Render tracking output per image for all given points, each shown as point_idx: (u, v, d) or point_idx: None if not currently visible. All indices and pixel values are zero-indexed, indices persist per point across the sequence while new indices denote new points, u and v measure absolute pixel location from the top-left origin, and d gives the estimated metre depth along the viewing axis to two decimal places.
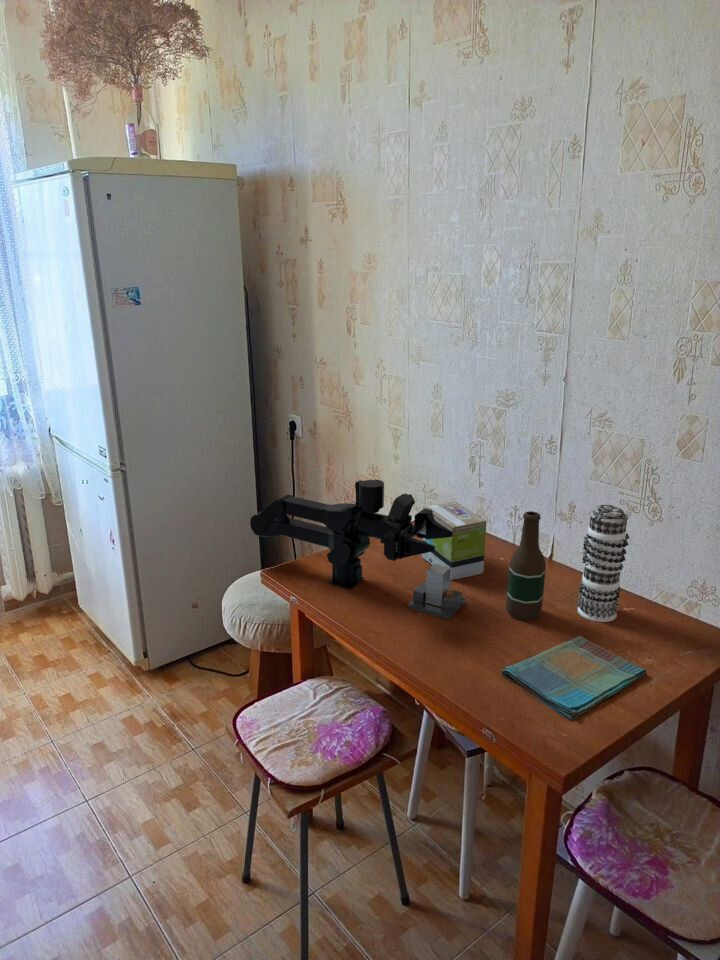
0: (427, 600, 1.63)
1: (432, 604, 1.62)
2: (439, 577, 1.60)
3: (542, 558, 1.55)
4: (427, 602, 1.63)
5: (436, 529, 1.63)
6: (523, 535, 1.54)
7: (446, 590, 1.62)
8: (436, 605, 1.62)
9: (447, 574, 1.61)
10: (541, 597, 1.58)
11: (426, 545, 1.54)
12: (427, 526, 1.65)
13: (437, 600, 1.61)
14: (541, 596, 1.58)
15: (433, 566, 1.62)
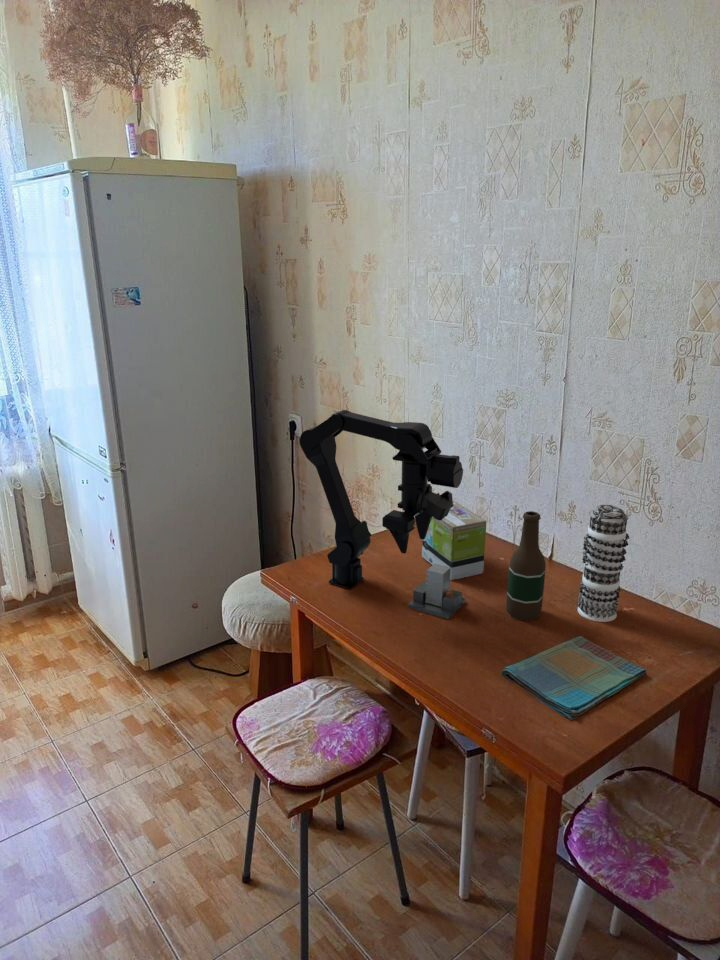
0: (427, 600, 1.63)
1: (432, 604, 1.62)
2: (439, 577, 1.60)
3: (542, 558, 1.55)
4: (427, 602, 1.63)
5: (424, 522, 1.66)
6: (523, 535, 1.54)
7: (446, 590, 1.62)
8: (436, 605, 1.62)
9: (447, 574, 1.61)
10: (541, 597, 1.58)
11: (404, 547, 1.58)
12: (425, 512, 1.65)
13: (437, 600, 1.61)
14: (541, 596, 1.58)
15: (433, 566, 1.62)
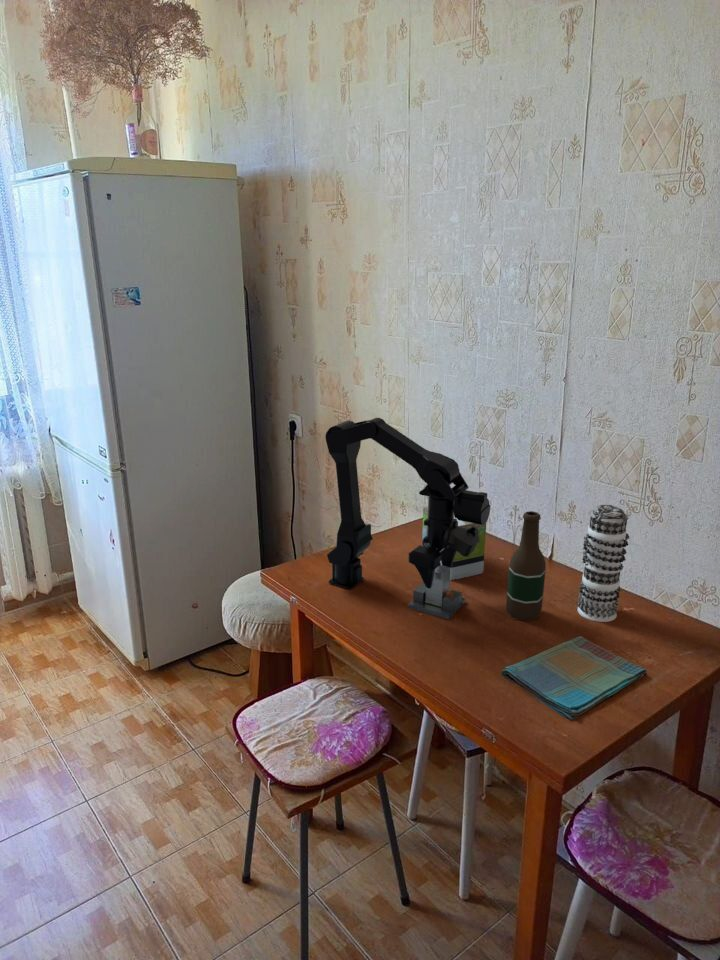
0: (427, 600, 1.63)
1: (432, 604, 1.62)
2: (439, 577, 1.60)
3: (542, 558, 1.55)
4: (427, 602, 1.63)
5: (448, 555, 1.65)
6: (523, 535, 1.54)
7: (446, 590, 1.62)
8: (436, 605, 1.62)
9: (447, 574, 1.61)
10: (541, 597, 1.58)
11: (430, 583, 1.57)
12: (450, 546, 1.64)
13: (437, 600, 1.61)
14: (541, 596, 1.58)
15: None
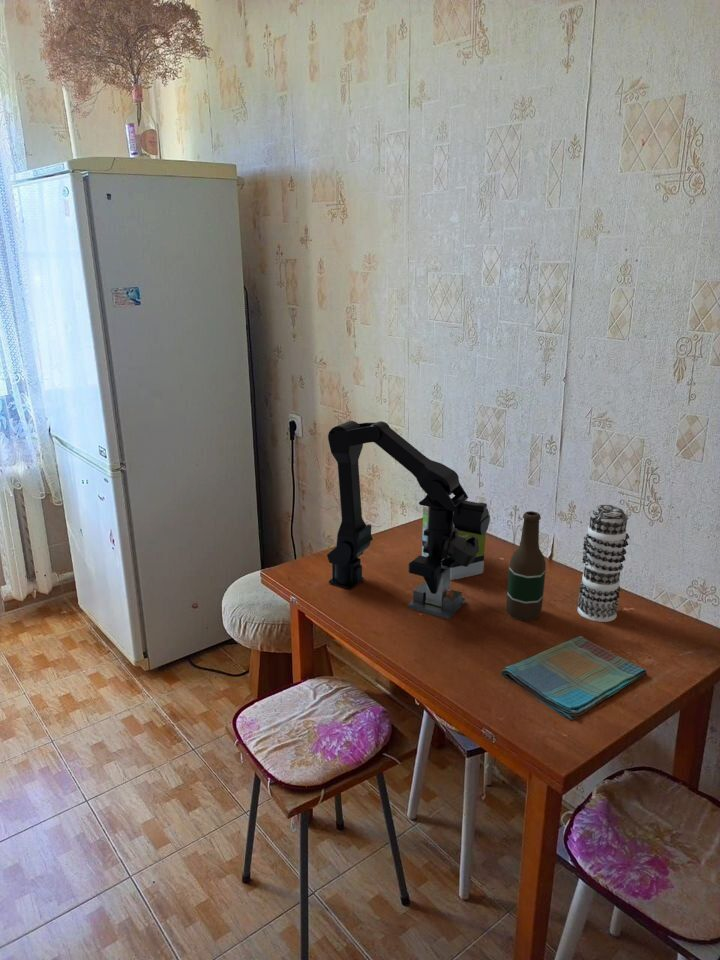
0: (427, 600, 1.63)
1: (432, 604, 1.62)
2: (439, 577, 1.60)
3: (542, 558, 1.55)
4: (427, 602, 1.63)
5: None
6: (523, 535, 1.54)
7: (446, 590, 1.62)
8: (436, 605, 1.62)
9: (447, 574, 1.61)
10: (541, 597, 1.58)
11: (435, 588, 1.60)
12: (445, 559, 1.63)
13: (437, 600, 1.61)
14: (541, 596, 1.58)
15: None
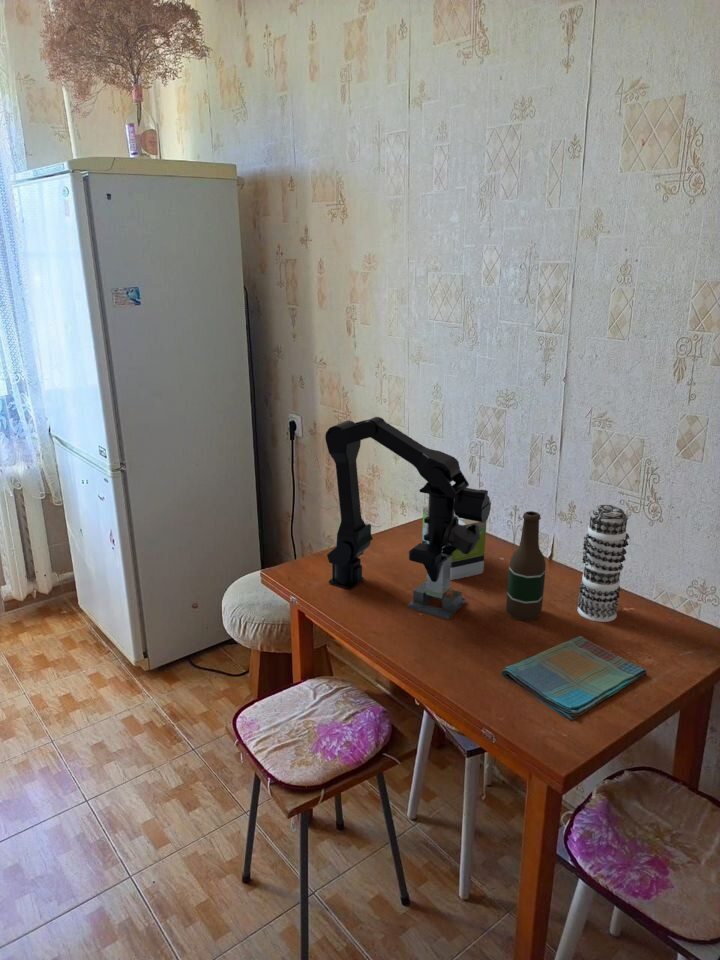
0: (427, 588, 1.62)
1: (432, 592, 1.61)
2: None
3: (542, 558, 1.55)
4: (427, 590, 1.62)
5: None
6: (523, 535, 1.54)
7: (447, 578, 1.61)
8: (436, 593, 1.61)
9: (447, 562, 1.60)
10: (541, 597, 1.58)
11: (435, 576, 1.59)
12: (446, 547, 1.62)
13: (438, 588, 1.61)
14: (541, 596, 1.58)
15: None
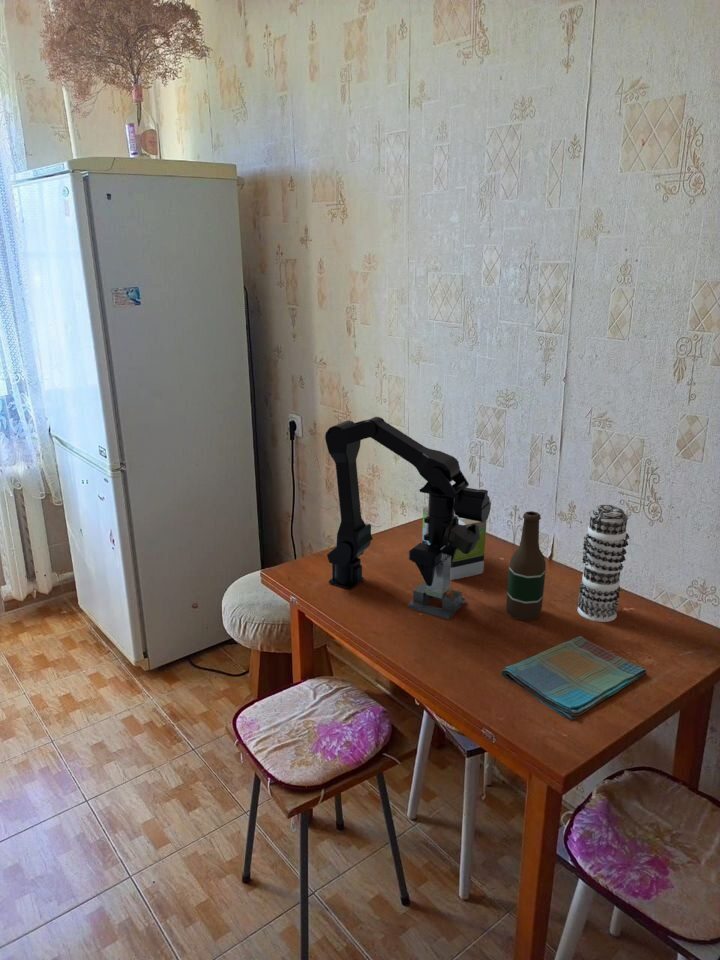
0: (427, 588, 1.62)
1: (432, 592, 1.61)
2: (439, 565, 1.59)
3: (542, 558, 1.55)
4: (427, 590, 1.62)
5: (449, 553, 1.64)
6: (523, 535, 1.54)
7: (447, 578, 1.61)
8: (436, 593, 1.61)
9: (447, 562, 1.60)
10: (541, 597, 1.58)
11: (430, 580, 1.57)
12: (450, 543, 1.64)
13: (438, 588, 1.61)
14: (541, 596, 1.58)
15: None
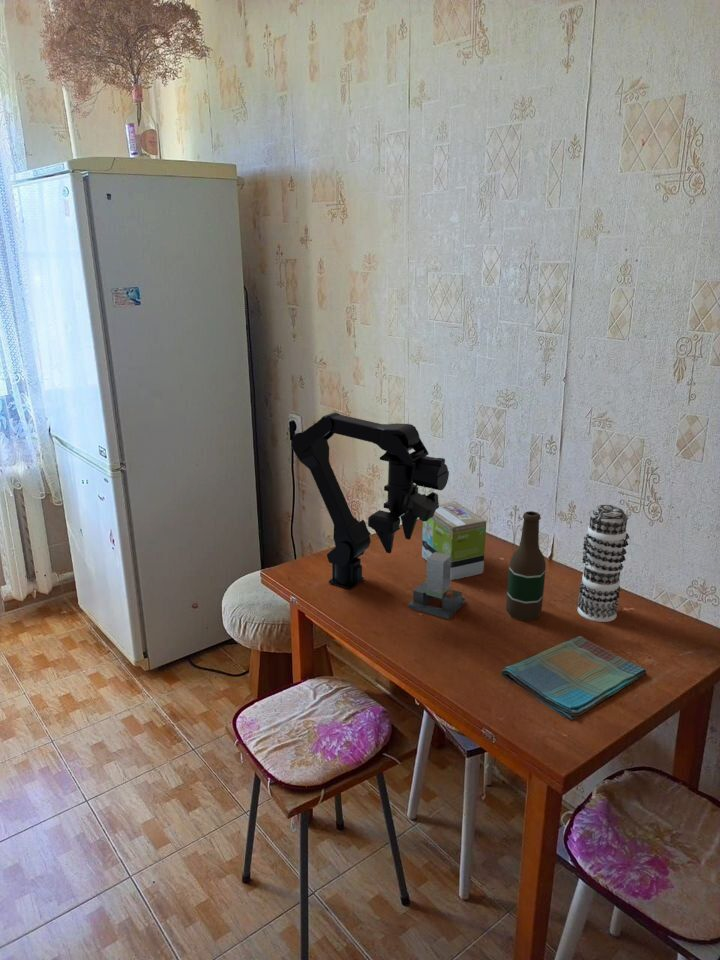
0: (427, 588, 1.62)
1: (432, 592, 1.61)
2: (439, 565, 1.59)
3: (542, 558, 1.55)
4: (427, 590, 1.62)
5: (410, 522, 1.67)
6: (523, 535, 1.54)
7: (447, 578, 1.61)
8: (436, 593, 1.61)
9: (447, 562, 1.60)
10: (541, 597, 1.58)
11: (389, 547, 1.59)
12: (411, 512, 1.66)
13: (438, 588, 1.61)
14: (541, 596, 1.58)
15: (433, 554, 1.62)
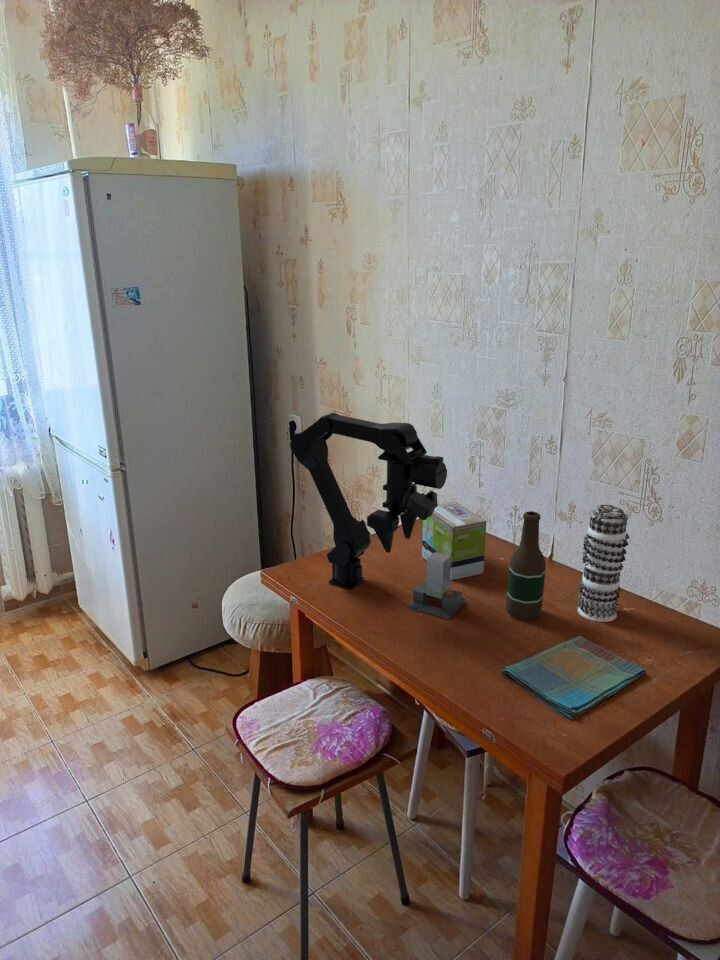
0: (427, 588, 1.62)
1: (432, 592, 1.61)
2: (439, 565, 1.59)
3: (542, 558, 1.55)
4: (427, 590, 1.62)
5: (409, 521, 1.67)
6: (523, 535, 1.54)
7: (447, 578, 1.61)
8: (436, 593, 1.61)
9: (447, 562, 1.60)
10: (541, 597, 1.58)
11: (389, 547, 1.59)
12: (410, 512, 1.66)
13: (438, 588, 1.61)
14: (541, 596, 1.58)
15: (433, 554, 1.62)
